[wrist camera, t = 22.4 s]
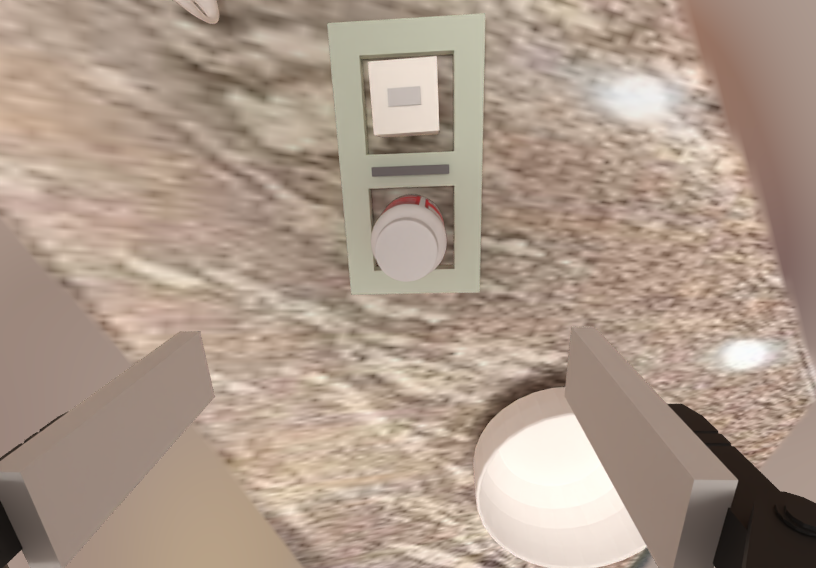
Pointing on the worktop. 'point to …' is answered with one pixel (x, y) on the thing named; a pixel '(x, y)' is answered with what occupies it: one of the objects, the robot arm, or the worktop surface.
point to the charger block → (404, 97)
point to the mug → (207, 4)
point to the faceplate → (411, 168)
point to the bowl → (549, 488)
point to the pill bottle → (409, 238)
